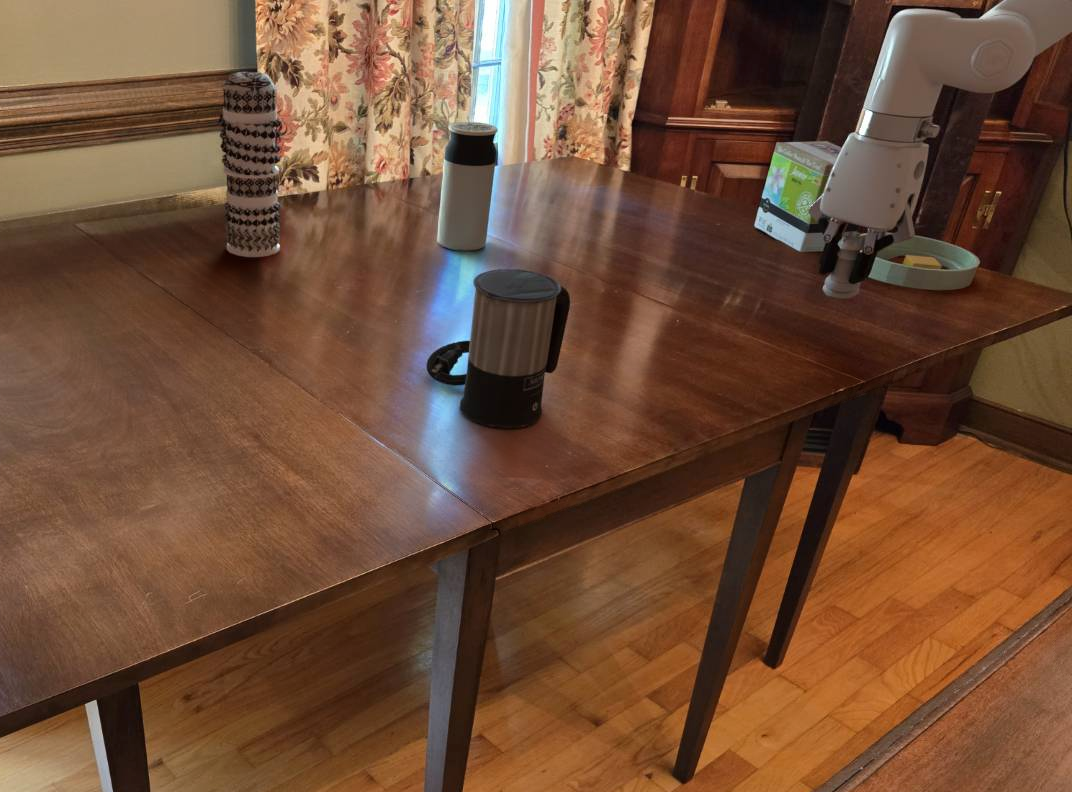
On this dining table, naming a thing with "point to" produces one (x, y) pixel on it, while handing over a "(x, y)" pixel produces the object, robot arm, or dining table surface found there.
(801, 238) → the tea box
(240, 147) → the decorative candle
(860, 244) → the rook chess piece
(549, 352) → the milk frother
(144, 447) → the dining table surface
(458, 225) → the travel mug
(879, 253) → the pale green round tray
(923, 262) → the decorative block
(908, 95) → the robot arm
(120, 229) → the dining table surface
